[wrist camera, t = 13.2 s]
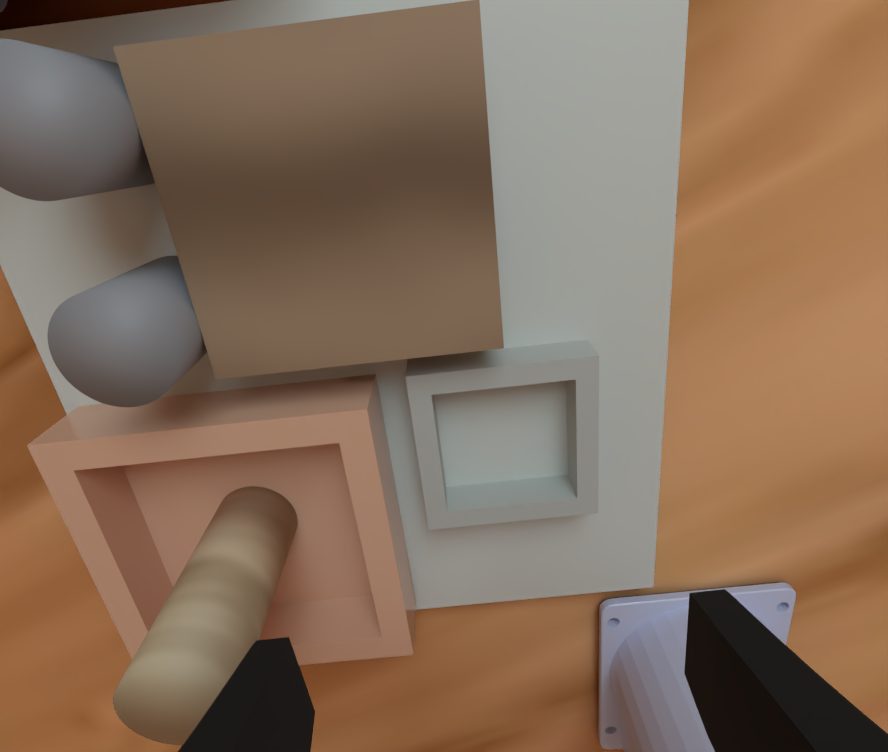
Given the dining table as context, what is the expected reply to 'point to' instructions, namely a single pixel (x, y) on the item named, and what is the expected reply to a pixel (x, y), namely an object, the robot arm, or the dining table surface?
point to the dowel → (208, 617)
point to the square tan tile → (327, 186)
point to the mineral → (3, 4)
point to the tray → (227, 469)
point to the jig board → (417, 379)
